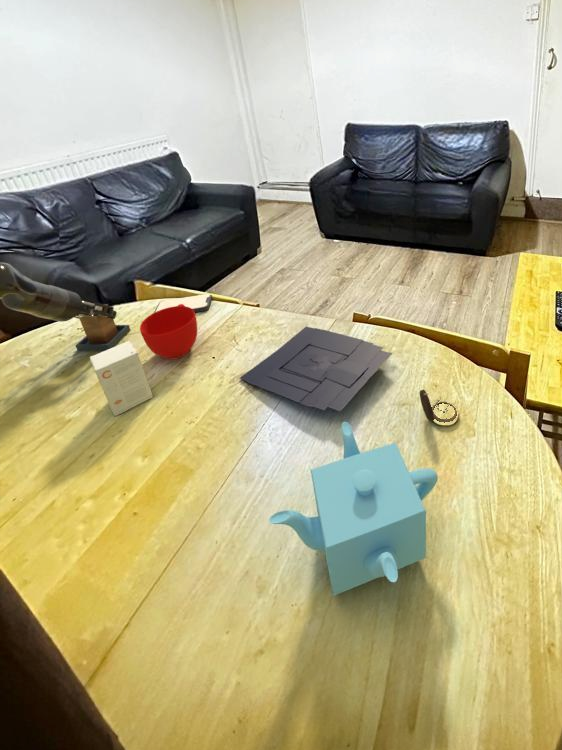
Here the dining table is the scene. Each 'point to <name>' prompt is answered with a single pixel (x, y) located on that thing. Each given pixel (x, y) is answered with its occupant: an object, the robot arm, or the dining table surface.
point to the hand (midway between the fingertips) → (99, 315)
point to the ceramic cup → (170, 331)
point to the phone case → (188, 302)
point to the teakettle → (365, 514)
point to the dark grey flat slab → (318, 368)
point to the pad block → (99, 329)
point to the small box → (121, 377)
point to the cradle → (86, 346)
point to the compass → (429, 410)
